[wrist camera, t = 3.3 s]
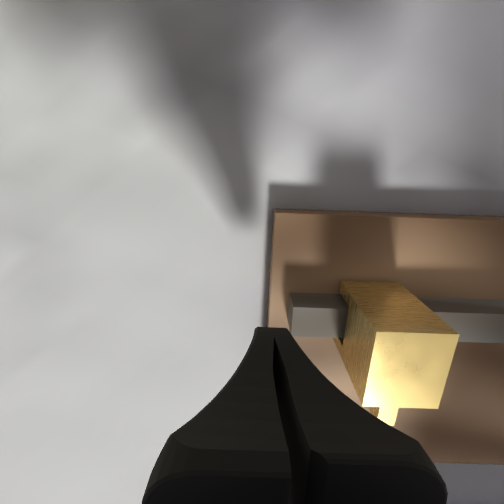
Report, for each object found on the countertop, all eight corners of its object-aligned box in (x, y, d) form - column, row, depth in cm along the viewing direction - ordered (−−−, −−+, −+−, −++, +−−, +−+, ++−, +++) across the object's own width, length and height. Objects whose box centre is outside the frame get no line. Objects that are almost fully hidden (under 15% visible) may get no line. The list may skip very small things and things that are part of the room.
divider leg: (382, 366, 16) (428, 441, 12) (329, 364, 16) (356, 438, 12) (399, 282, 15) (459, 334, 11) (340, 280, 15) (376, 331, 11)
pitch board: (563, 449, 20) (708, 586, 14) (260, 439, 20) (263, 572, 14) (672, 222, 15) (975, 269, 9) (273, 208, 15) (287, 246, 9)
